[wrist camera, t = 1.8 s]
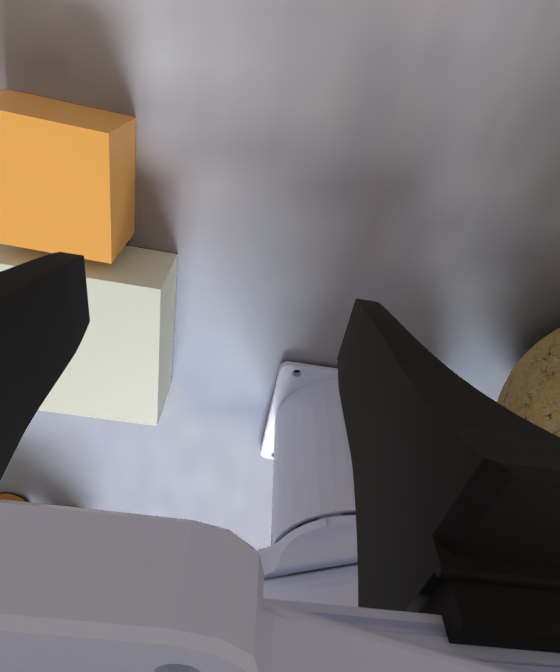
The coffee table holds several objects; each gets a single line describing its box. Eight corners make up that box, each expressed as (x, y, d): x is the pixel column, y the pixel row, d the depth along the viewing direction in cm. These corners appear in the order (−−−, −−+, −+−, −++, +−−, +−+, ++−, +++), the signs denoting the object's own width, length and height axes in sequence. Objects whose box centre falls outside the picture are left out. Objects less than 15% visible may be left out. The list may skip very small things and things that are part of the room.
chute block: (137, 116, 18) (108, 133, 15) (135, 231, 21) (111, 263, 18) (9, 88, 17) (-46, 100, 14) (25, 210, 20) (-18, 240, 17)
